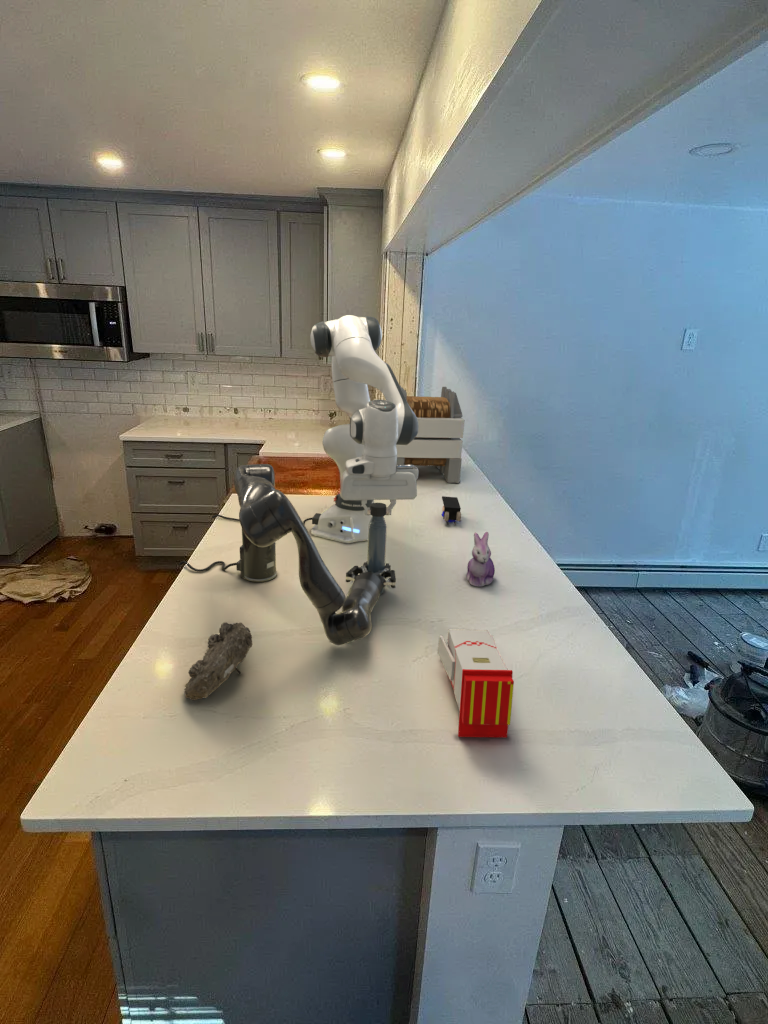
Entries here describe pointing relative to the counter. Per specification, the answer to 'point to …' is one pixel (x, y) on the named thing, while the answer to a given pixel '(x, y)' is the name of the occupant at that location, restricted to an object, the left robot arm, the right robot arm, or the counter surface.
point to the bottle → (376, 545)
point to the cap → (378, 509)
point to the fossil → (218, 660)
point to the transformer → (435, 434)
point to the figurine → (480, 562)
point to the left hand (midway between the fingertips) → (377, 565)
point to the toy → (478, 682)
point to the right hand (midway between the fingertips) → (377, 514)
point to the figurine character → (451, 509)
